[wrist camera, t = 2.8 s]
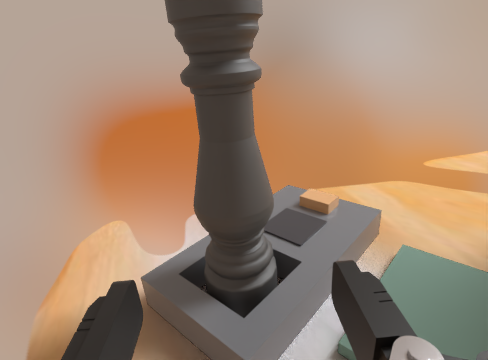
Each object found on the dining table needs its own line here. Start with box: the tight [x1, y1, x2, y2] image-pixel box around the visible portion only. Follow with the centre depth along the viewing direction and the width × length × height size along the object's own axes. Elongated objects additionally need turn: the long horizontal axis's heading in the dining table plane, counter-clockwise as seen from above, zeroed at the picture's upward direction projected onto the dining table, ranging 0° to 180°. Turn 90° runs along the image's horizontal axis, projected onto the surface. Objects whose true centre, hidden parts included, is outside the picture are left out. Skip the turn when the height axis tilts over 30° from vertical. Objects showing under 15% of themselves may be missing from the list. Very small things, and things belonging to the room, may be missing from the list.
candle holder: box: [165, 0, 278, 318], centre depth 22 cm, size 6×6×25 cm
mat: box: [338, 245, 488, 360], centre depth 22 cm, size 14×12×1 cm
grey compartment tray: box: [141, 185, 381, 360], centre depth 30 cm, size 22×12×4 cm, turn 138°
